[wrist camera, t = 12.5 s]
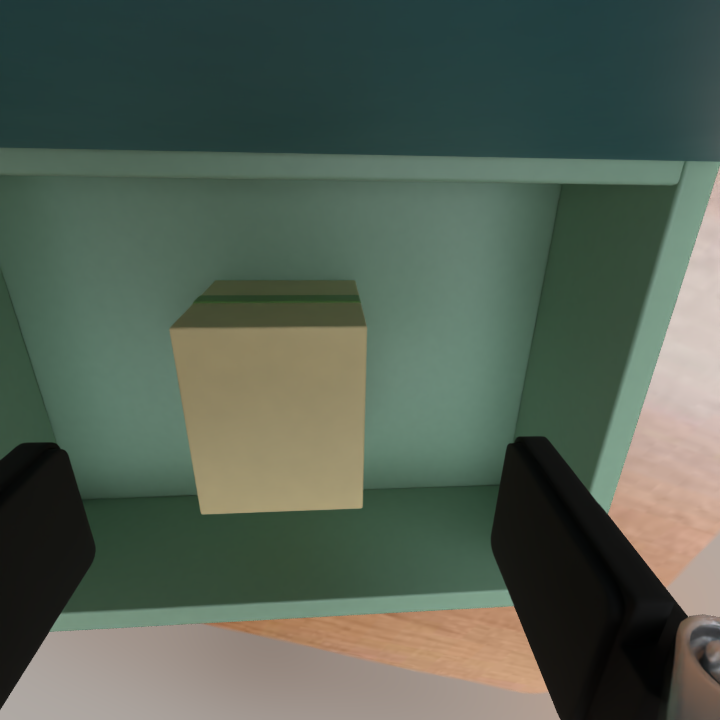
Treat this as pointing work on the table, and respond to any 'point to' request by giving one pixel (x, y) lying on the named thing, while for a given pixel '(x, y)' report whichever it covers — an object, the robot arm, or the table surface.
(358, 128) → the lunchbox lid
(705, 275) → the table surface
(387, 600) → the box
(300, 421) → the yellow block
